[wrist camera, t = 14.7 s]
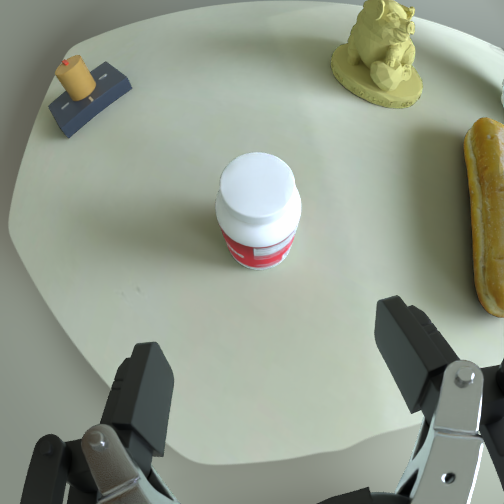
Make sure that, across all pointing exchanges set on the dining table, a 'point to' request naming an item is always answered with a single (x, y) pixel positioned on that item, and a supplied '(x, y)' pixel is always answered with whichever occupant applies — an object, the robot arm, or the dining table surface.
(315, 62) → the dining table surface
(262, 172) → the pill bottle
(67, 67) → the tan cylinder
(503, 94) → the vase
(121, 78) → the dial base block
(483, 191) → the bread
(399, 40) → the figurine
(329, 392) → the dining table surface
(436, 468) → the robot arm
